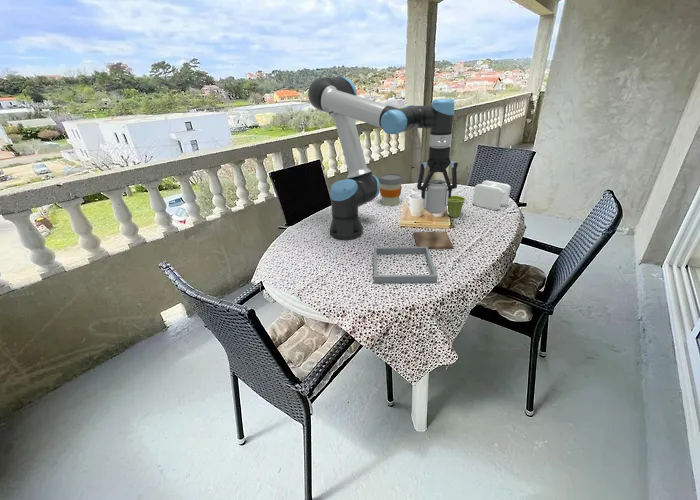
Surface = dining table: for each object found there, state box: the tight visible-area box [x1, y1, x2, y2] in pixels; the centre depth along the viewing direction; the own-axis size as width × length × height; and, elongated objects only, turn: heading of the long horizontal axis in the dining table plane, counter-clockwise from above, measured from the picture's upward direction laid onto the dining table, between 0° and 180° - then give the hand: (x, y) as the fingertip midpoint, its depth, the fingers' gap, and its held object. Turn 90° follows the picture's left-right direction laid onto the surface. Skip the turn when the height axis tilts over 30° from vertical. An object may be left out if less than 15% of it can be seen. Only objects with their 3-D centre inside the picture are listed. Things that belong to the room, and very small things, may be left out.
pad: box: [412, 230, 454, 250], centre depth 131 cm, size 14×14×1 cm
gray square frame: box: [373, 246, 438, 284], centre depth 114 cm, size 21×21×2 cm
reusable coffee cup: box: [378, 173, 403, 207], centre depth 171 cm, size 13×12×15 cm
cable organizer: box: [472, 179, 511, 211], centre depth 161 cm, size 15×11×12 cm
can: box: [424, 179, 448, 215], centre depth 122 cm, size 8×8×12 cm
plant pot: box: [447, 195, 466, 218], centre depth 153 cm, size 9×9×9 cm
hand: (435, 205), depth 124 cm, fingers closed on can, 7 cm apart
